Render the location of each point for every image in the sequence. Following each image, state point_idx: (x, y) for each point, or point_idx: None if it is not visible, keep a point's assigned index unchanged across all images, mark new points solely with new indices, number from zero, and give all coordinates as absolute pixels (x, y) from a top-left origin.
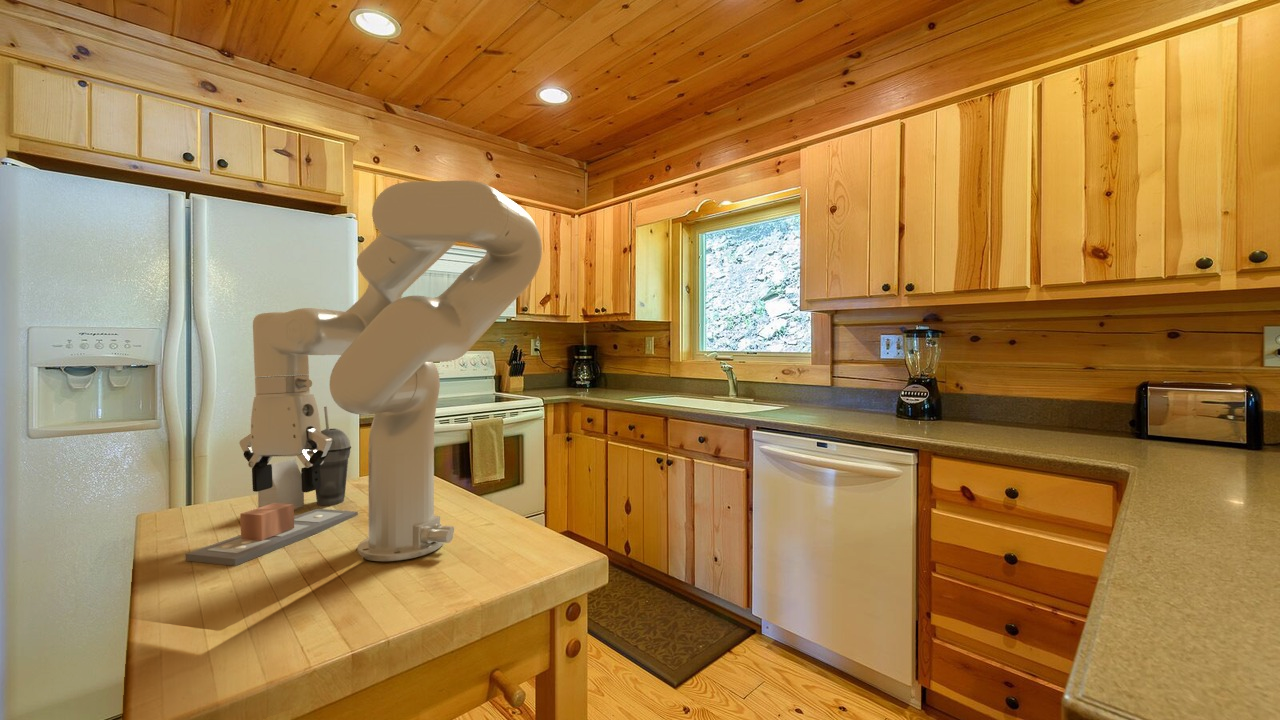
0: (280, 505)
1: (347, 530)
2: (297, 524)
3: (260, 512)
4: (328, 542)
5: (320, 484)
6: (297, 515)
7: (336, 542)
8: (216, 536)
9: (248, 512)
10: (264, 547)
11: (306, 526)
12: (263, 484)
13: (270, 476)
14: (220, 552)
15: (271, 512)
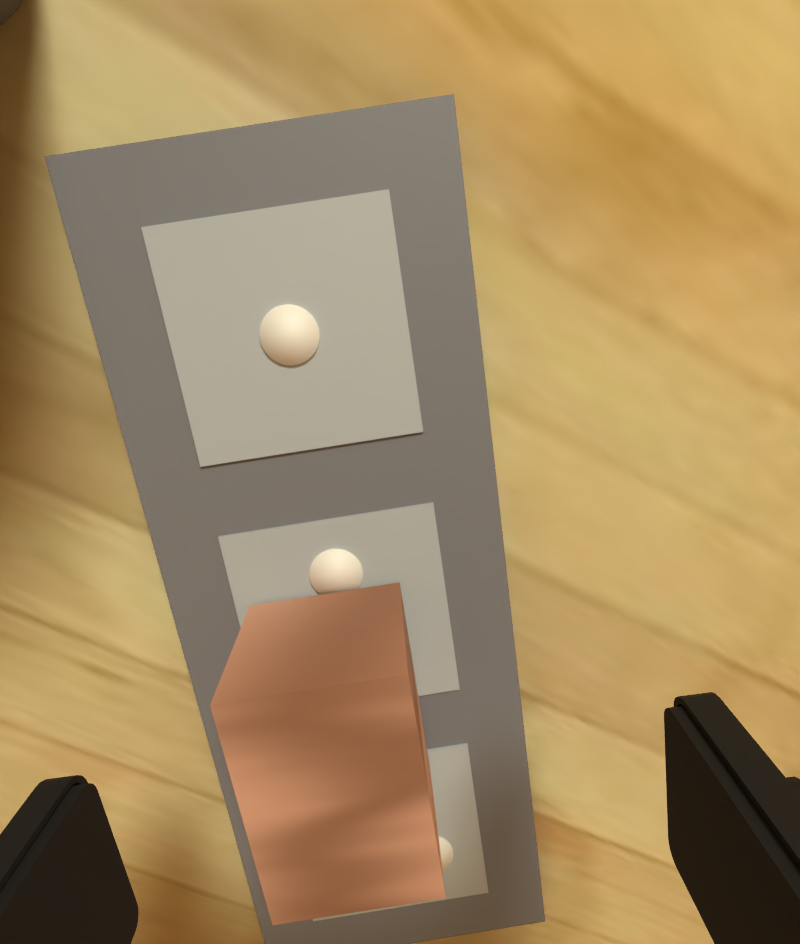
0: (339, 729)
1: (621, 377)
2: (320, 506)
3: (379, 870)
4: (681, 567)
5: (728, 711)
6: (104, 362)
7: (723, 551)
8: (5, 724)
9: (295, 894)
10: (530, 805)
11: (428, 522)
12: (98, 910)
13: (24, 906)
14: (401, 907)
15: (434, 831)
